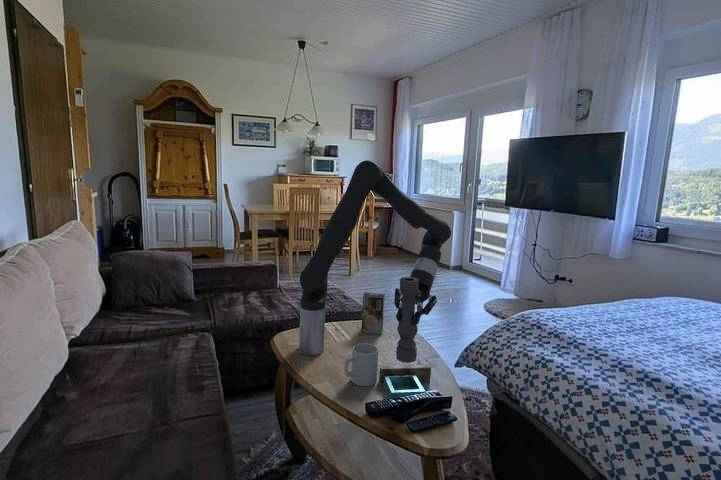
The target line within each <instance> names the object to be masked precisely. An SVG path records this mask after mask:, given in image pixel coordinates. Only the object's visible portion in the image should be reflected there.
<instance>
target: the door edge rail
mask: <svg viewBox="0 0 721 480" xmlns="http://www.w3.org/2000/svg"><path fill="white" fill-rule="evenodd" d="M432 369H433V368H432V366H431V365H430V364H429V363H428V364H423V365H417V364H402V365H401V364H399V365H396V364H395V365H394V364H393V365H379V374H378V375H379V377H378V378H379V379H378V383H379V385H383V381H384V375H403V374H415V375H416V377H417V378H418V380H419V382H420V383H430V382H431V375H432Z"/></svg>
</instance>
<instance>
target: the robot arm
mask: <svg viewBox="0 0 721 480" xmlns="http://www.w3.org/2000/svg"><path fill="white" fill-rule="evenodd" d="M371 191H372V192H374V193H375V194H377V195H379V196H380V197H381V198H382V199H384V201H386V202H387V203H388V204H389V205H390V207H392V209H393V210H394V211H395V212H396V213H397V214H398V215H399V216H400V217H401V218H402V219H403V220H404V221H405V223H407V224H408V225H409V226H411V227H412V228H414V229H415V230H419V229H420V228H422V229H424V230H425V231H426V232H425V234H424V236H423V237H422V240H421V241H422V242H421V247H420V251H419V254H418V256H417V258H416V261H415V263H414V265H413V267H412V270H411V273H410V276H409V277H413V278H417V279H419V290H418V293H417V294H416V296H415V297H416V298H417V302H416V303H415V306H416V311H415V315H414V318H413V321H412V324H413V325H414V326H416V324H417V325H418V324H419V322H420V320H421V318H422V316H423V315H426V316H428V315H429V314H430V312H431V311H432V309H433V308H434V307H435V306H436V304H437V302H438V298H437V296H436V295H432V294H431V290H432V287H433V284H434V282H435V281H434V280H435V279H436V276H437V272H438V267H439V263H440V262H441V257H442V252H441V248H442V246H443V245H444V244H445V243H446V242H447V241H448V240H449V239H450V238H451V235H452V229H451V227H450V225H449V224H448V223H446V221H444V220H443V219H441V218H440V217H437V216H436V215H434V214H431V213H429V212H428V211H426V210H425V209H424V208H423V207H422V206H420V204H418V202H416V201H415V200H414V199H413V198H411V197H410V196H408V195H407V194H406V193H405V192H404V191H402V190H401V189H400V188H399V187H398V186H396V184H395V183H394V182H393V181H391V179H390V178H389V177H388V176H387V175H386V173H385V172H384V170H383V169H382V167H381V166H380V165H379V164H378V163H376V162H375V161H372V160H369V159H367V160H363V161H360V162H359V163H358V164H357V165H356V166H355V168H354V170H353V173H352V175H351V178H350V181H349V183H348V185H347V188H346V190H345V192H344V194H343V196H342V197H341V199H340V201H339V203H338V204H337V206H336V208H335V209H334V210H333V213H332V214H331V216H330V218H329V220H328V222H327V224H326V226H325V228H324V229H323V232H322V235H321V236H320V239H319V241H318V244H317V247H316V249H315V251H314V253H313V255H312V256H311V258H310V260H308V262H307V264H306V266H304V269H303V270H302V271H301V272H300V276H299V283H300V287H301V288H302V293H301V297H300V298H301V299H300V308H299V309H300V310H299V311H300V313H299V314H300V316H299V335H298V337H299V339H298V340H299V341H298V353H299V354H300V355H306V356H316V355H317V356H318V355H320V354H322V353H324V350H325V329H326V327H325V325H326V305H327V304H326V302H327V297H328V283H329V282H328V278H329V277H328V276H329V275H328V274H329V272H330V269H331V267H332V266H333V263H334V261H335V260H336V259H337V257H338V255H339V254H340V253H341V251H342V250H343V248H345V245H346V244H347V243H348V242H349V239H350V238H351V235H352V234H353V232H354V230H355V228H356V225H357V223H358V220H359V216H360V213H361V210H362V207H363V205H364V203H365V200H366V199H367V197H368V196H369V194H370V192H371ZM400 291H401V290H400V288H399V287H397V288H395V289H394V302H393V303H394V305H395V308H396V309H397V312H396V313H395V314H396V315H395V318H396V321H397V322H398V323H399V322H400V319H401V314H402V302H401V301H400V298H401V297H402V294H401V292H400ZM427 300H428V302H427V303H426V304H425V306H424V302H426V301H427Z"/></svg>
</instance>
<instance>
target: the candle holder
mask: <svg viewBox="0 0 721 480" xmlns="http://www.w3.org/2000/svg"><path fill="white" fill-rule="evenodd" d="M399 290H401V291H400V292H401V294H402V297H400V303H401V302H402V314H401V319H400V322H398V324H397V333H398V335H399V338H400V339H399V340H398V341H397V346H396V356H395V358H396V360H397V361H398V362H401V363H406V364H408V363H409V364H411V363H414V362H416V361H417V353H418V349H417V347H416V346H417V343H416V341H415V337H416V336H417V334H418V330H419V329H418V324H416V326H414V325H413V324H412V321H413V318H414V315H415V312H416V311H415V309H416V304H415V303H416V302H417V298H416V297H415V296H416V294H417V293H418V290H419V279H417V278H413V277H410V276H406V277H405V276H404V277H400V278H399Z"/></svg>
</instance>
